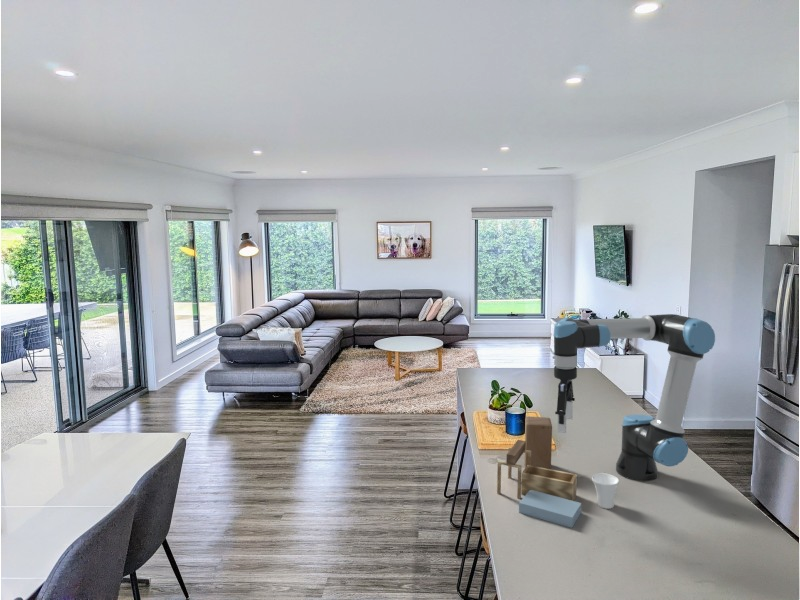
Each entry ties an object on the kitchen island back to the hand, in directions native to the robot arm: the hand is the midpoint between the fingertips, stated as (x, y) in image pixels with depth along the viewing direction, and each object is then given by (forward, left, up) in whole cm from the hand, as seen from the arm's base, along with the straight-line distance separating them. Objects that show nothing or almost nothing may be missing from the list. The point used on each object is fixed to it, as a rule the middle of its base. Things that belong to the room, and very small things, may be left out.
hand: (565, 425), depth 189 cm
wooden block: (+15, -23, -28) cm, 39 cm away
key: (+18, -2, -16) cm, 24 cm away
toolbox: (+10, -2, -28) cm, 30 cm away
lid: (+2, +10, -29) cm, 30 cm away
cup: (-13, -4, -28) cm, 31 cm away
